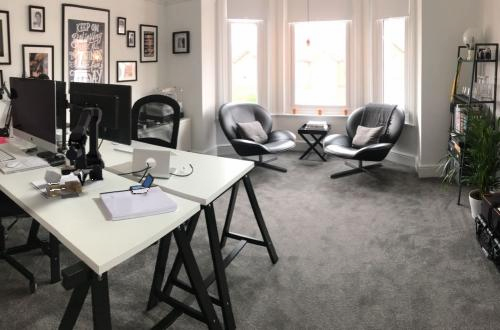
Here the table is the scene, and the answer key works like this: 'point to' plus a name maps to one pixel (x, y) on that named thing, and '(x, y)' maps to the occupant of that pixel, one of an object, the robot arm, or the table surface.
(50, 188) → the tunnel
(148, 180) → the handheld game console
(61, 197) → the pit mat
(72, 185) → the walnut block
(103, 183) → the table surface
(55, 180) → the die
